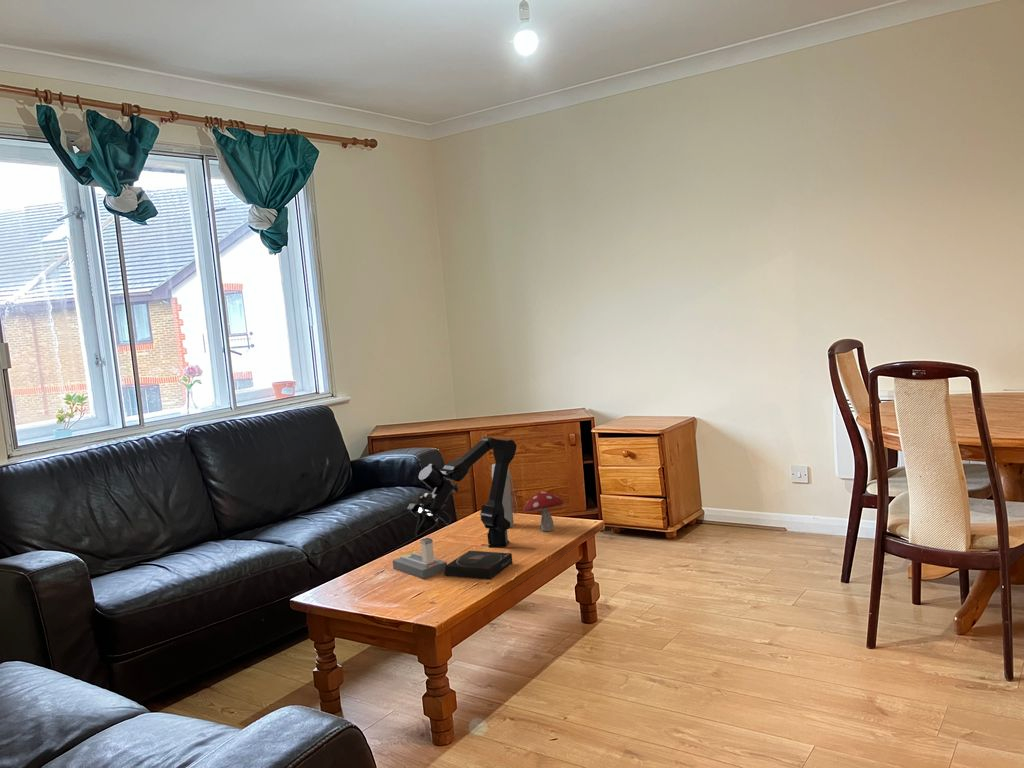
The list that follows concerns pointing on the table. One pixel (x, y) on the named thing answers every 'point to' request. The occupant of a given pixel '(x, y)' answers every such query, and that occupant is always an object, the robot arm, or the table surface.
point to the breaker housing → (418, 566)
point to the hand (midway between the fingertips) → (416, 534)
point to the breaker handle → (427, 550)
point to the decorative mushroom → (544, 508)
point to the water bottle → (507, 498)
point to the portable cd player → (478, 565)
